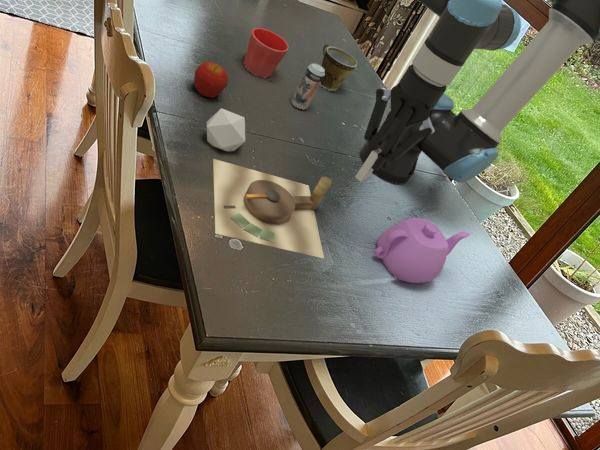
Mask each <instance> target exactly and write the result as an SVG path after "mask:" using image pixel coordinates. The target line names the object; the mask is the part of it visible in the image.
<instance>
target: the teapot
mask: <svg viewBox="0 0 600 450" xmlns="http://www.w3.org/2000/svg"><path fill="white" fill-rule="evenodd" d="M470 235H471V233H470V232H469V231H460V232H457V233H456V234H453V235H451V236H450V237H448V238H446V237H445V235H444V233H443V232H442V231H441V229H440V228H439V227H438V226H437V225H436V224H435V223H434V222H432V221H430V220H428V219H424V218H421V217H408V218H405V219H402V220H401V221H398V222H397V223H394V224H392V225H391V226H389V227H388V228H386V230H383V232H382V233H381V234H380V235H379V236H378V239H377V244H376V248H375V249H374V255H375V256H376V257H377V258H378V259H381V261H382V263H383V264H384V265H385V268H386V269H387V270H388V271H389V273H390V274H391V275H393V277H394V278H395V279H397V280H399V281H403V282H406V283H410V284H420V283H421V284H423V283H427V282H431V281H433V280H434V279H436V278H437V277H438V276H439V275H440V273H441V271H442V270H443V268H444V265H445V263H446V260H447V257H448V255H450V253H452V251H453V250H454V248H455V246H456V245H457V244H458V243H459V242H460V241H462V239H465V238H468V237H469V236H470Z"/></svg>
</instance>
